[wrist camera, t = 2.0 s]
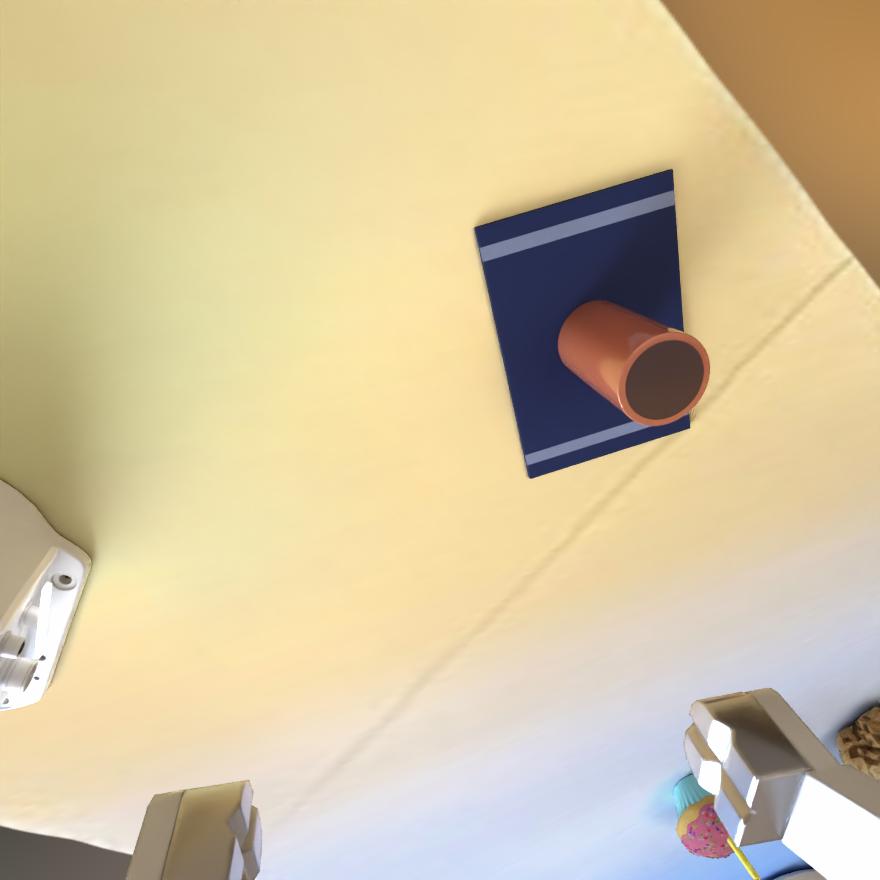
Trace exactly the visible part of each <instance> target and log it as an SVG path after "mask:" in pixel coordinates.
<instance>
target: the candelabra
mask: <svg viewBox="0 0 880 880" xmlns="http://www.w3.org/2000/svg"><path fill="white" fill-rule="evenodd" d="M773 880H827V879H826V878H825V877H824V876H823V875H821V874H820V873H819V872H818V871H816V870H815V869H809V870H799V871H795V872H792V873H788V874H785V875H782V876H779V877H777V878H775V879H773Z"/></svg>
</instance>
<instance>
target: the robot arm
mask: <svg viewBox="0 0 880 880" xmlns="http://www.w3.org/2000/svg"><path fill="white" fill-rule="evenodd" d="M90 569H91V559H90V557H89V556H88V555H87V554H86V553H85V552H84V551H83V550H82V549H80V548H79V547H78V546H76V545H75V544H73V543H72V542H70V541H68V540H67V539H65V538H63V537H62V536H60V535H59V534H58V533H57V532H56V531H55V530H54V529H53V528H52V527H51V526H50V524H49V523H48V522H47V521H46V519H45V518H44V517H43V515H42V514H41V513H40V511H39V510H38V509H37V508H36V507H35V506H34V505H33V504H32V503H31V502H30V501H29V500H28V499H27V498H26V497H25V496H24V495H22V494H21V493H20V492H19V491H17V490H16V489H14V488H13V487H11V486H10V485H8V484H7V483H5V482H4V481H2V480H0V711H1V710H8V709H13V708H18V707H22V706H25V705H28V704H31V703H34V702H36V701H38V700H40V699H41V698H42V696H43V695H44V694H45V692H46V691H47V689H48V687H49V685H50V682H51V679H52V677H53V674H54V671H55V668H56V665H57V663H58V660H59V657H60V654H61V651H62V648H63V646H64V643H65V640H66V637H67V634H68V631H69V629H70V626H71V623H72V620H73V617H74V614H75V611H76V609H77V606H78V603H79V600H80V597H81V594H82V592H83V589H84V586H85V583H86V580H87V577H88V575H89V572H90ZM64 575H67V576H69V577H70V578H71V579H70V578H66V577H65V576H64ZM689 715H690V717H691V718H692V720H693V721H694V723H693V724H692V725H691V726H690V727H689V728H688V729H687V730H686V732H685V739H684V748H685V753H686V758H687V761H688V764H689V766H690V768H691V771H692V773H693V775H694V776H695V778H696V780H697V782H698V783H699V785H700V786H701V787H703V788H704V789H706V790H707V791H709V792H710V793H712V794H713V795H714V796H715V800H714V810H715V812H716V813H717V815H718V817H719V818H720V820H721V822H722V823H723V825H724V827H725V828H726V830H727V832H728V833H729V835H730V837H731V838H732V840H733V842H734V843H735V845H736V847H741V846H747V845H753V844H758V843H764V842H769V841H775V840H781V839H783V840H782V843H783V844H785V845H786V846H787V847H788V848H789V849H791V850H792V851H793V852H794V853H796V854H797V855H798V856H799V857H801V858H802V859H803V860H804V861H805V862H807V863H808V864H809V865H810V866H812V867H813V868H814V869H815V870H816V871H818V872H819V873H820V874H821V875H823V876H824V877H825V878H826V879H827V880H880V782H879V781H878V780H876V779H874V778H872V777H871V776H869V775H867V774H865V773H864V772H862V771H860V770H858V769H857V768H855V767H853V766H851V765H850V764H845V765H840V763H839V762H838V761H837V760H836V759H835V758H834V756H833V755H832V754H831V753H830V752H829V751H828V750H827V748H826V747H825V746H824V745H823V744H822V743H821V741H820V740H819V739H818V738H817V737H816V736H815V735H814V733H813V732H812V731H811V730H810V729H809V728H808V726H807V725H806V724H805V723H804V722H803V721H802V720H801V718H800V717H799V716H798V715H797V714H796V713H795V711H794V710H793V709H792V708H791V707H790V706H789V705H788V703H787V702H786V701H785V700H784V699H783V698H782V696H781V695H780V694H779V693H778V692H776V691H775V690H773V689H772V688H763V689H758V690H754V691H749V692H744V693H743V692H738V693H733V694H728V695H723V696H717V697H712V698H707V699H702V700H697V701H695V702H694V703H693V704H692V705H691V709H690V713H689ZM252 798H253V790H252V787H251V784H250V780H244V781H238V782H231V783H225V784H219V785H212V786H206V787H200V788H193V789H185V790H179V791H174V792H168V793H162V794H156V795H154V797H153V798H152V800H151V802H150V803H149V805H148V807H147V810H146V814H145V817H144V820H143V823H142V827H141V830H140V833H139V837H138V840H137V843H136V846H135V850H134V853H133V856H132V860H131V863H130V866H129V869H128V873H127V876H126V879H125V880H254V879H255V878H256V876H257V875H258V873H259V872H260V863H261V853H262V829H261V820H260V815H259V811H258V809H257V808H256V807H254V806H252Z"/></svg>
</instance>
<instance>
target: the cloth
mask: <svg viewBox="0 0 880 880" xmlns="http://www.w3.org/2000/svg"><path fill="white" fill-rule="evenodd" d="M475 233H476V237H477V242H478V246H479V251H480V256H481V260H482V265H483V269H484V274H485V278H486V283H487V288H488V292H489V297H490V301H491V306H492V311H493V315H494V320H495V324H496V329H497V333H498V338H499V343H500V347H501V352H502V356H503V361H504V366H505V370H506V375H507V379H508V384H509V388H510V393H511V398H512V402H513V407H514V411H515V416H516V421H517V425H518V430H519V434H520V439H521V443H522V448H523V453H524V457H525V462H526V466H527V471H528V476H529V478H530V479H532V478H535V477H538V476H541V475H544V474H547V473H550V472H554V471H557V470H560V469H563V468H566V467H569V466H572V465H576V464H579V463H582V462H585V461H588V460H591V459H595V458H598V457H601V456H604V455H607V454H610V453H613V452H617V451H620V450H623V449H626V448H629V447H632V446H635V445H639V444H642V443H645V442H648V441H651V440H654V439H658V438H661V437H664V436H667V435H670V434H673V433H676V432H680V431H683V430H686V429H689V428H690V418H689V412H688V413H687V414H685V415H684V416H683V417H681V418H679V419H678V420H676V421H674V422H671V423H668V424H664V425H659V426H648V425H643V424H639V423H637V422H635V421H633V420H632V419H630V418H629V417H628V416H627V415H625V414H624V413H623V412H622V411H620V410H619V409H618V408H617V407H615V406H614V405H613V404H612V403H610V402H609V401H608V400H607V399H605V398H604V397H603V396H601V395H600V394H599V393H598V392H596V391H595V390H594V389H593V388H591V387H590V386H589V385H588V384H586V383H585V382H584V381H583V380H581V379H580V378H579V377H578V376H576V375H575V374H574V373H573V372H571V371H570V370H569V369H568V368H567V367H566V366H565V365H564V363H563V362H562V360H561V358H560V355H559V351H558V338H559V333H560V330H561V328H562V325H563V324H564V322H565V320H566V319H567V317H568V316H569V315H570V314H571V313H572V312H573V311H574V310H575V309H576V308H578V307H579V306H581V305H583V304H585V303H587V302H590V301H595V300H607V301H611V302H614V303H616V304H618V305H621V306H623V307H625V308H628V309H630V310H632V311H635V312H637V313H639V314H642V315H644V316H646V317H649V318H651V319H653V320H656V321H658V322H660V323H663V324H665V325H668V326H670V327H672V328H675V329H677V330H679V331H682V332H684V329H683V314H682V300H681V285H680V270H679V255H678V240H677V225H676V211H675V195H674V181H673V170H666V171H663V172H660V173H656V174H653V175H650V176H646V177H643V178H639V179H636V180H633V181H629V182H626V183H623V184H619V185H616V186H612V187H609V188H606V189H602V190H599V191H596V192H592V193H589V194H585V195H582V196H579V197H575V198H572V199H569V200H565V201H562V202H558V203H555V204H552V205H548V206H545V207H542V208H538V209H535V210H531V211H528V212H525V213H521V214H518V215H515V216H511V217H508V218H504V219H501V220H498V221H494V222H491V223H488V224H484V225H481V226H477V227H475Z"/></svg>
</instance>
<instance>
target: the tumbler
mask: <svg viewBox="0 0 880 880" xmlns="http://www.w3.org/2000/svg"><path fill="white" fill-rule="evenodd" d="M558 351H559V355H560V358H561V360H562V362H563V363H564V365H565V366H566V367H567V368H568V369H569V370H570V371H571V372H573V373H574V374H575V375H576V376H578V377H579V378H580V379H581V380H583V381H584V382H585V383H586V384H588V385H589V386H590V387H591V388H593V389H594V390H595V391H596V392H598V393H599V394H600V395H601V396H603V397H604V398H605V399H607V400H608V401H609V402H610V403H612V404H613V405H614V406H615V407H617V408H618V409H619V410H620V411H622V412H623V413H624V414H625V415H627V416H628V417H629V418H630V419H632V420H633V421H635V422H637V423H639V424H643V425H648V426H659V425H664V424H668V423H671V422H674V421H676V420H678V419H679V418H681V417H683V416H684V415H685V414H687V413H688V412H689V411H690V410H691V409H692V408H693V407H694V406H695V405H696V404H697V403H698V401H699V400H700V398H701V397H702V395H703V393H704V391H705V389H706V387H707V384H708V380H709V375H710V363H709V358H708V355H707V352H706V350H705V348H704V347H703V345H702V344H701V343H700V342H699V341H698V340H697V339H696V338H694V337H692V336H691V335H689V334H686V333H684V332H682V331H679V330H677V329H675V328H672V327H670V326H668V325H665V324H663V323H660V322H658V321H656V320H653V319H651V318H649V317H646V316H644V315H642V314H639V313H637V312H635V311H632V310H630V309H628V308H625V307H623V306H621V305H618V304H616V303H614V302H611V301H607V300H595V301H590V302H587V303H585V304H583V305H581V306H579V307H578V308H576V309H575V310H574V311H573V312H572V313H571V314H570V315H569V316H568V317H567V319H566V320H565V322H564V324H563V325H562V328H561V330H560V333H559V338H558Z"/></svg>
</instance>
